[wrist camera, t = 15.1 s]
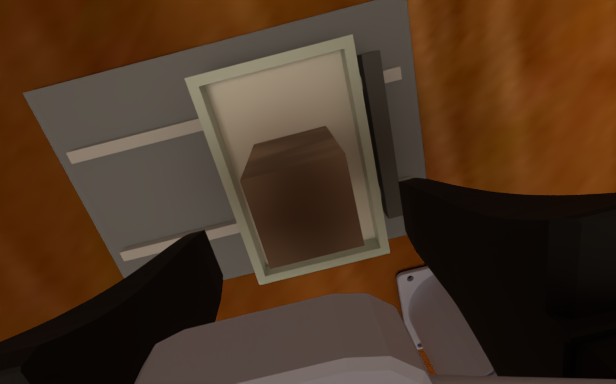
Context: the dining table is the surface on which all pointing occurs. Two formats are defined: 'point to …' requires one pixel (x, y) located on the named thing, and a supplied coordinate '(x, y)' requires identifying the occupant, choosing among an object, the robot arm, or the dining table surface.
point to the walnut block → (301, 197)
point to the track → (193, 144)
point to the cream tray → (286, 121)
